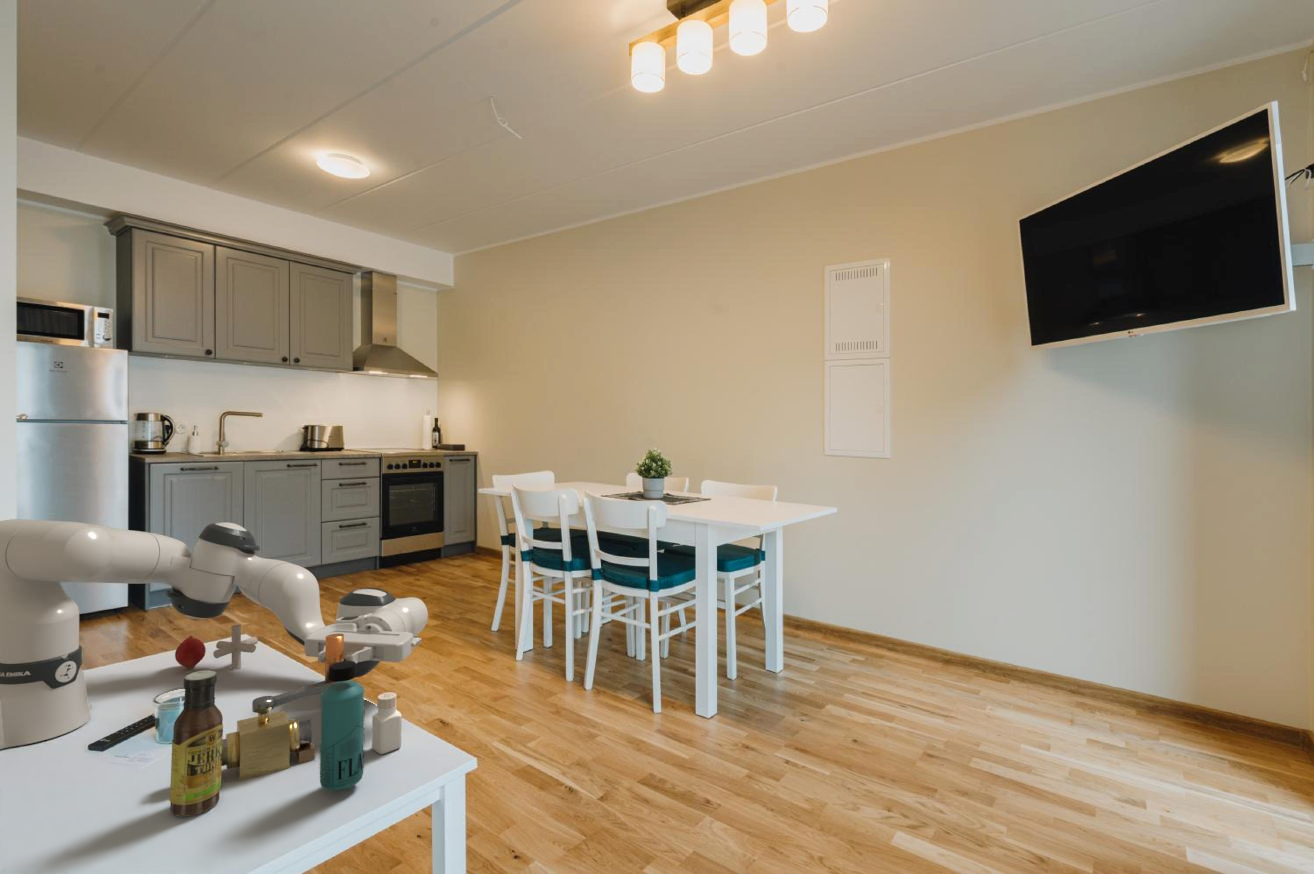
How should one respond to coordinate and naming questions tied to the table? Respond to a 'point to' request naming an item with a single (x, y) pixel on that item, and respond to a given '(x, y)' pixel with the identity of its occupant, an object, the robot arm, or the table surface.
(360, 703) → the beverage bottle
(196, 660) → the onion
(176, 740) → the sauce bottle
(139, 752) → the table surface
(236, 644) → the pipe connector
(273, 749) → the ball valve
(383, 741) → the pepper shaker
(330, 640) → the crank handle
